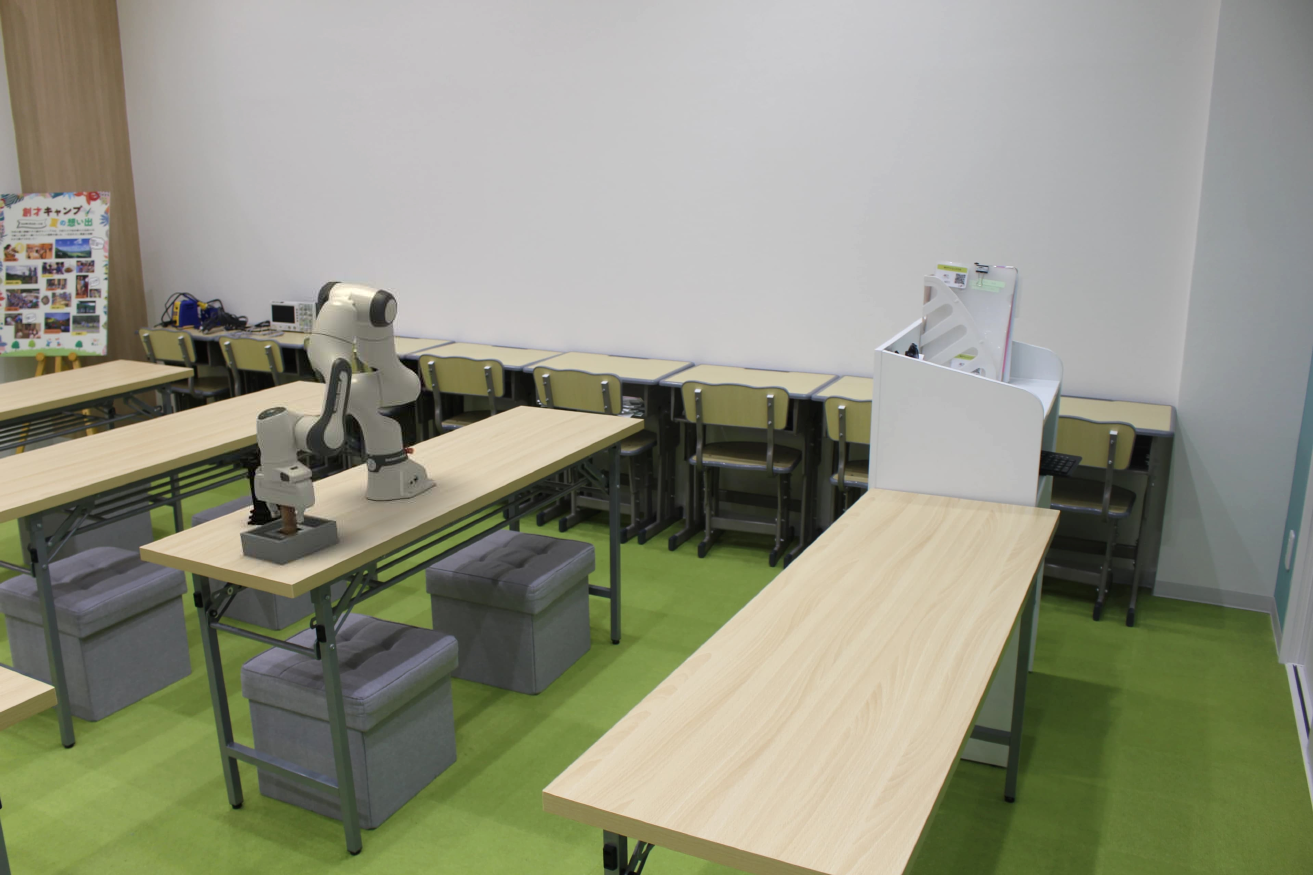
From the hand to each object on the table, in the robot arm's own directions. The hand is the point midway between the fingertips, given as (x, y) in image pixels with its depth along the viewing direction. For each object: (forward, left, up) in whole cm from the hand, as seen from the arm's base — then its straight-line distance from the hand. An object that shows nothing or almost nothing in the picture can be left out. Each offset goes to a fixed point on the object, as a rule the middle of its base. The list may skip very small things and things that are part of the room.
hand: (287, 519), depth 249 cm
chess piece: (-12, -26, -8) cm, 30 cm away
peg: (0, 0, -7) cm, 7 cm away
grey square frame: (0, 0, -7) cm, 7 cm away
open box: (0, 0, -8) cm, 8 cm away
